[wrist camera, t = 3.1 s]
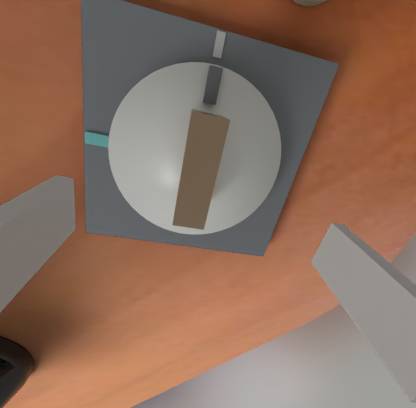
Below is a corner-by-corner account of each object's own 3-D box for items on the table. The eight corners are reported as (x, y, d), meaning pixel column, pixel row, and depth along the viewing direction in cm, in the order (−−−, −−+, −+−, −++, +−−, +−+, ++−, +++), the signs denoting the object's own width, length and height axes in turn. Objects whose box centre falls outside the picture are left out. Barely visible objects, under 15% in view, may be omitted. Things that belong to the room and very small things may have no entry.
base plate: (259, 247, 33) (263, 257, 31) (92, 224, 29) (84, 233, 27) (328, 66, 23) (341, 63, 21) (90, -2, 20) (79, -14, 18)
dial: (249, 237, 29) (264, 271, 24) (110, 216, 27) (87, 249, 21) (301, 90, 22) (340, 86, 16) (116, 41, 19) (84, 15, 14)
